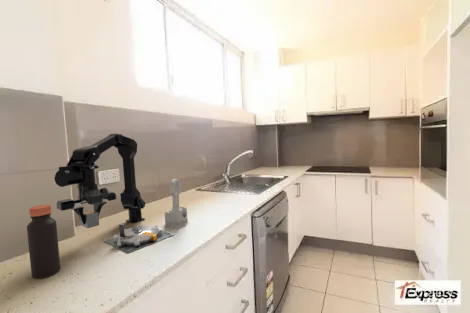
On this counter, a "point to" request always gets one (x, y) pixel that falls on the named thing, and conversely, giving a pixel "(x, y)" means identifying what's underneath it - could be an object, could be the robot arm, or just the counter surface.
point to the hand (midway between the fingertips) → (90, 222)
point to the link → (91, 219)
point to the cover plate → (133, 248)
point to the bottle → (43, 242)
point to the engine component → (176, 208)
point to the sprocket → (137, 235)
